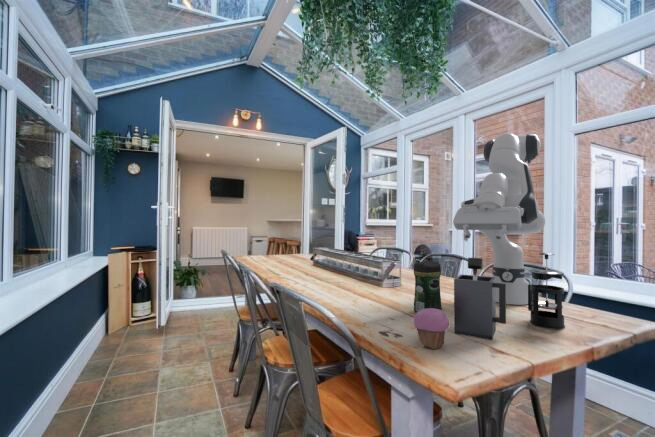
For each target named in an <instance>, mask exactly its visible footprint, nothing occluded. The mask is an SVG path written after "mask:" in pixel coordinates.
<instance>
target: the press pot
mask: <svg viewBox="0 0 655 437" xmlns="http://www.w3.org/2000/svg"><path fill="white" fill-rule="evenodd" d="M496 288H499V302H498V303H499V304H498V306H499V307H498V309H499V310H498V311H499V312H498V315H499V316H496V315H497V314H496V313H497V311H496V307H497V305H496V303H497V302H496ZM453 301H454V302H453V322H454V323H453V327H454V329H453V330H454V331H453V334H454V335H455V334H456V335H460V336H466V337H471V338H478V339H484V340H487V341H488V340H489V341H493V339H494V337H495V334H496V331H497V324H498V323H499V324H503V325H506V324H507V304H506V283H496V277H492V276H482V275H477V280H473V274H472V275H471V274H469V275H468V274H461V273H460V274H459V275H458V276H456V277H455V278H453ZM496 323H497V324H496Z"/></svg>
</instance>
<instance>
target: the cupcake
mask: <svg viewBox="0 0 655 437" xmlns="http://www.w3.org/2000/svg"><path fill="white" fill-rule="evenodd" d="M413 325H414V327H415V328H416V331H417V335H418V341H419V342H420V344H421V345H422V346H423V347H425V348H426V347H427V348H430V349H432V350H437V349H439V348H441V347H443V346H444V344H445V333H446V331H447V330H449V327H450V319H449V317H448V316H447V315H446V314H445V313H444V311H443V310H440V309H435V308H426V309H421V310H420V311H418V312H416V313H415V315H414V317H413Z"/></svg>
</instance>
